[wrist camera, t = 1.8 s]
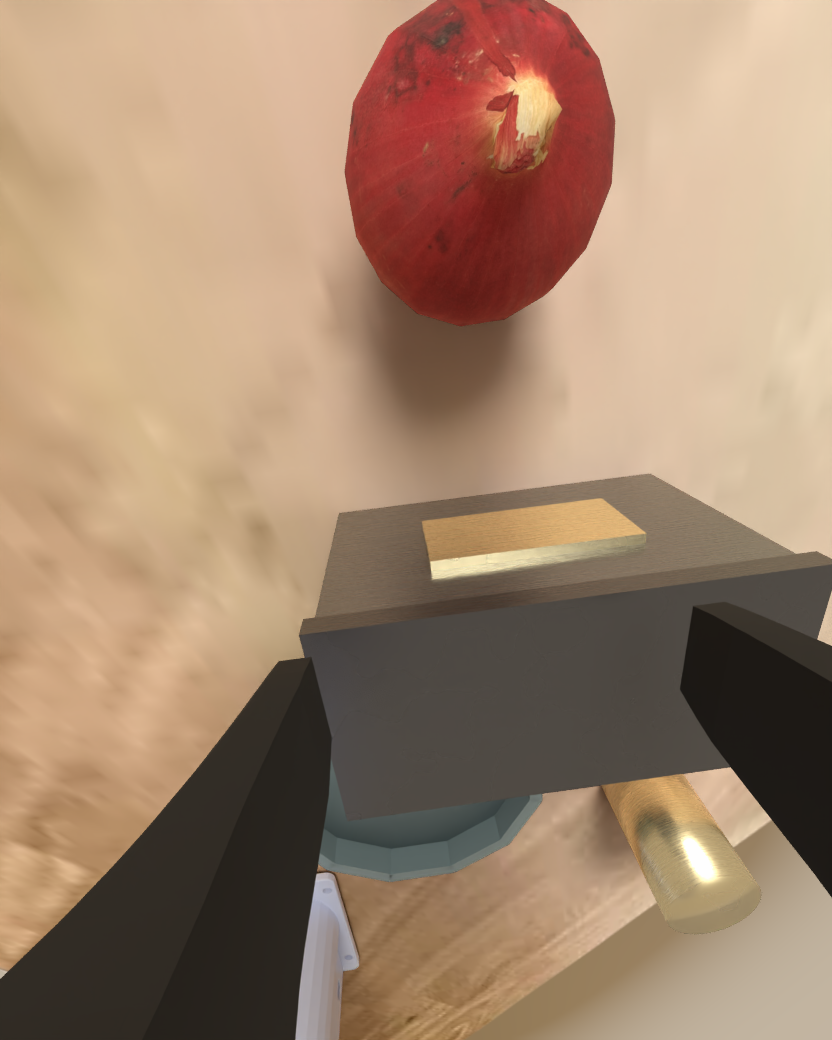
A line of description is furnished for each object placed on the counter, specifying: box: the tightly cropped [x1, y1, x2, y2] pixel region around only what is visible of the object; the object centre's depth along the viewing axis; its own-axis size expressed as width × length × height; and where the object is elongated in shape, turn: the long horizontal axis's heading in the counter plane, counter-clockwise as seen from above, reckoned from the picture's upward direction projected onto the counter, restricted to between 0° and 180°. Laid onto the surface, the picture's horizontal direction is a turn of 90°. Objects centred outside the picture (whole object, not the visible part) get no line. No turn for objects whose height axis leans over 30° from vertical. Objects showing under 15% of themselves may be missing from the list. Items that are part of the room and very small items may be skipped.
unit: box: [299, 474, 832, 821], centre depth 15 cm, size 6×12×8 cm, turn 96°
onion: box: [345, 0, 615, 326], centre depth 10 cm, size 6×6×8 cm
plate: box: [318, 760, 542, 882], centre depth 21 cm, size 12×12×2 cm
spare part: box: [602, 774, 761, 934], centre depth 21 cm, size 4×4×6 cm
